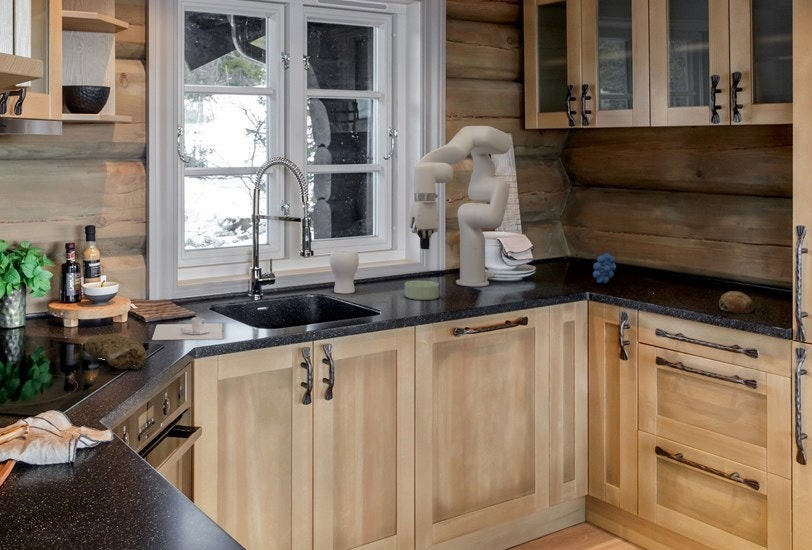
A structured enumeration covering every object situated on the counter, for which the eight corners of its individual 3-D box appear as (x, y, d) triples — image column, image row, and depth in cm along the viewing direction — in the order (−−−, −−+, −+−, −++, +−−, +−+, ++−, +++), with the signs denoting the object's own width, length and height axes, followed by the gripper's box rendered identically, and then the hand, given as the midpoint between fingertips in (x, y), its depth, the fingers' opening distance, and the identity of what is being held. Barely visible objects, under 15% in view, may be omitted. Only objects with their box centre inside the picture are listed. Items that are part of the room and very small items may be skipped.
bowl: (408, 293, 308) (408, 279, 308) (441, 295, 304) (441, 281, 304) (401, 299, 296) (401, 285, 296) (436, 301, 292) (436, 287, 292)
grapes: (606, 280, 333) (606, 250, 333) (620, 283, 327) (620, 252, 327) (584, 283, 328) (585, 252, 328) (598, 285, 322) (598, 254, 322)
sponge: (152, 373, 209) (132, 339, 226) (148, 345, 207) (128, 313, 224) (100, 388, 204) (83, 353, 222) (95, 360, 202) (78, 326, 219)
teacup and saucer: (179, 335, 243) (179, 321, 243) (181, 329, 251) (181, 315, 251) (210, 335, 243) (210, 321, 243) (210, 329, 251) (210, 315, 251)
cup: (358, 289, 316) (358, 249, 316) (358, 294, 306) (358, 253, 306) (330, 289, 317) (330, 249, 317) (329, 294, 307) (329, 253, 307)
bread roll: (716, 318, 280) (708, 297, 278) (737, 303, 283) (729, 282, 281) (741, 324, 270) (734, 303, 269) (763, 309, 273) (755, 287, 272)
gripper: (435, 196, 308) (435, 246, 309) (401, 198, 302) (401, 249, 302) (448, 197, 302) (448, 248, 302) (414, 199, 295) (414, 251, 295)
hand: (424, 248), depth 302 cm, fingers closed
